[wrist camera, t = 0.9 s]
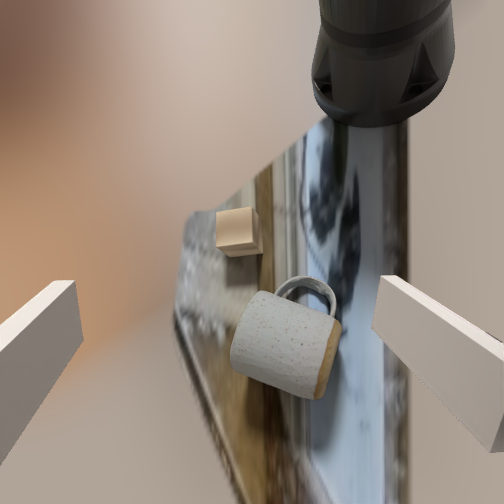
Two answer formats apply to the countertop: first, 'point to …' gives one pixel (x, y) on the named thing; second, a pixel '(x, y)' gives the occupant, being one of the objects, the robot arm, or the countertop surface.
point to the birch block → (239, 232)
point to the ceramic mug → (287, 340)
